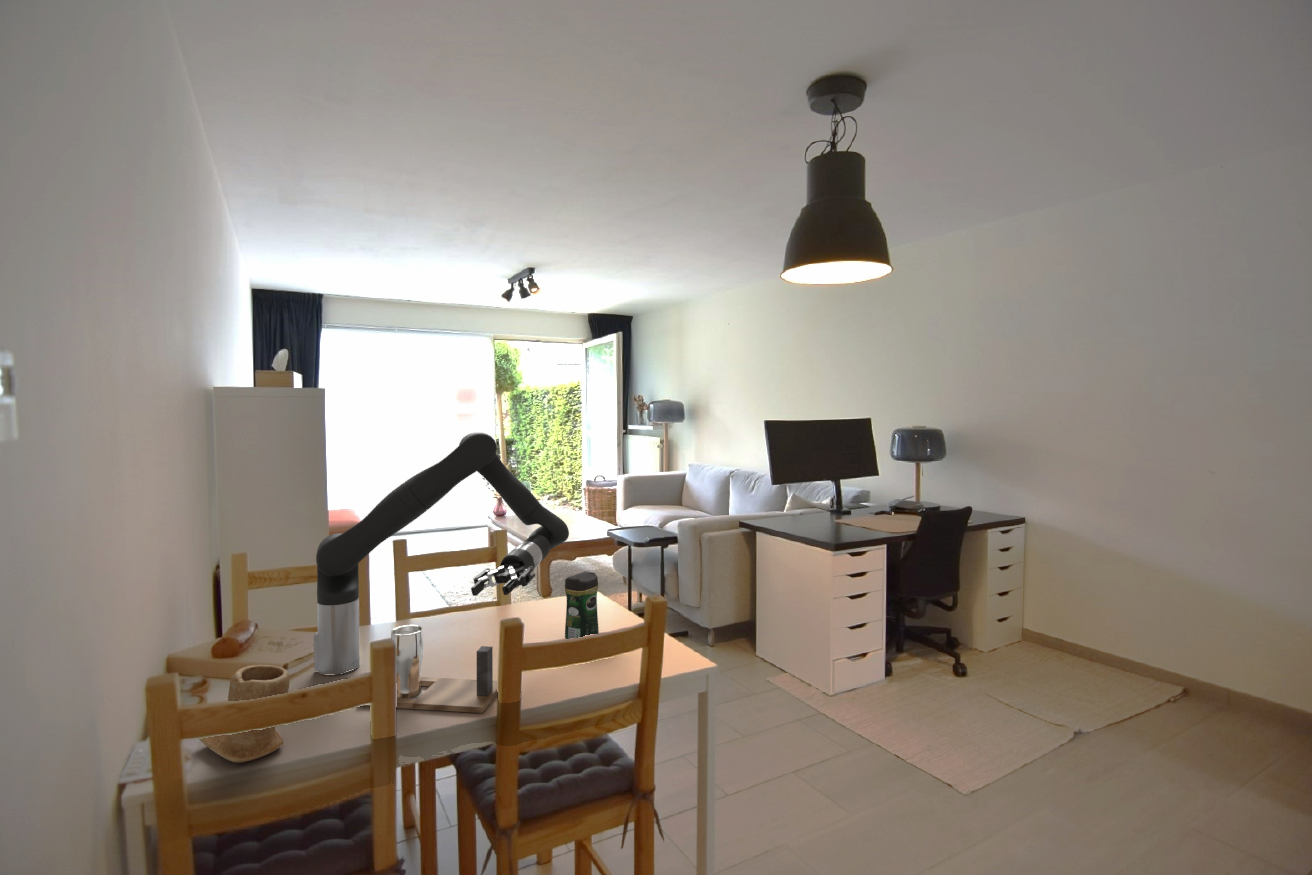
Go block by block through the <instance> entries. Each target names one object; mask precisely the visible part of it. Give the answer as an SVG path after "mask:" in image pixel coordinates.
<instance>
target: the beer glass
mask: <svg viewBox="0 0 1312 875" xmlns="http://www.w3.org/2000/svg"><path fill="white" fill-rule="evenodd" d="M391 639H392V640H394V641H395V643H396V683H397V698H407V699H418V698H419V697H420V696H421V695H422V694H423V692H422V691H423V690H422V686H421V685H420V677H421V672H422V671H421V670H422V664H423V658H424V649H425V648H424V644H425V643H424V642H425V641H424V632H423V627H422V626H421V625H417V624H409V625H408V624H407V625H401V626H398V627H395V628H393V629H392V630H391V635H390V640H391Z"/></svg>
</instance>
